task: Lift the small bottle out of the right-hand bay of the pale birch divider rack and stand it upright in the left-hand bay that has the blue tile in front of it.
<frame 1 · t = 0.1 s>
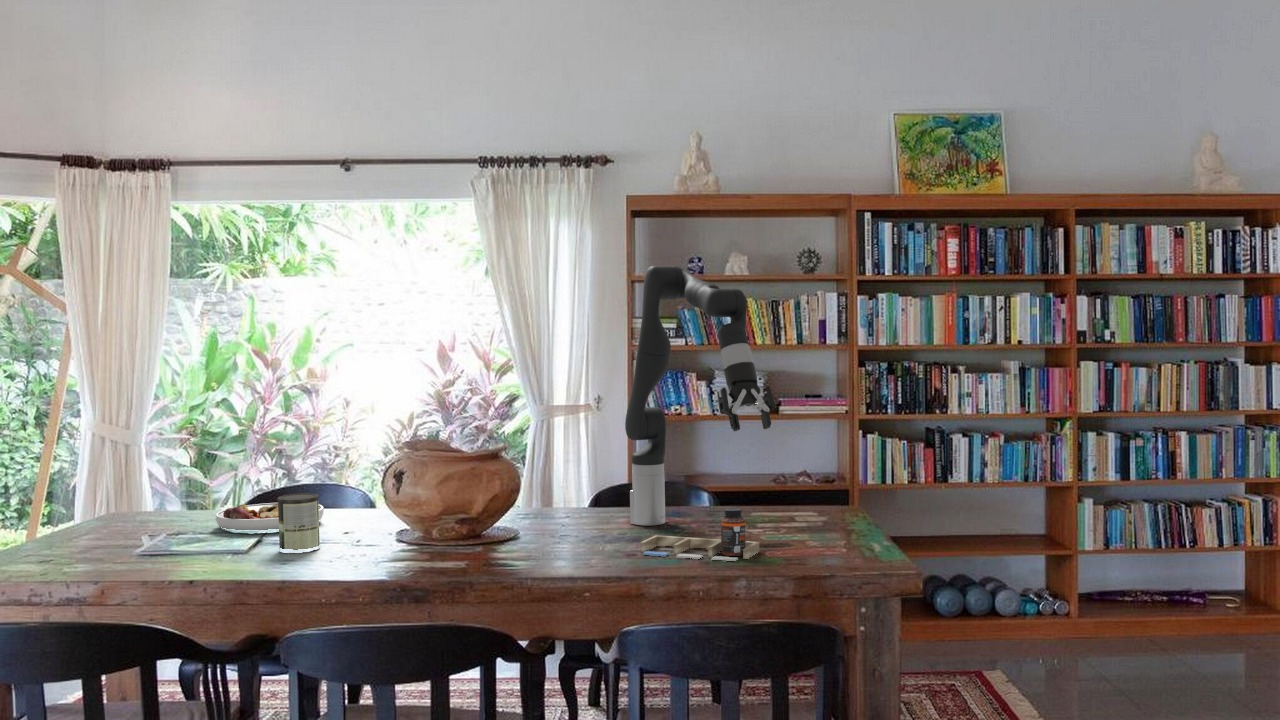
hand: (752, 429, 259), 31 cm above the table, tool tilted 20°, fingers open, 8 cm apart
bowl: (270, 527, 319), on the table
coffee can: (299, 550, 283), on the table
supplement bottle: (733, 555, 266), on the table
divider rack: (699, 552, 269), on the table
bezel tiles: (689, 557, 263), on the table
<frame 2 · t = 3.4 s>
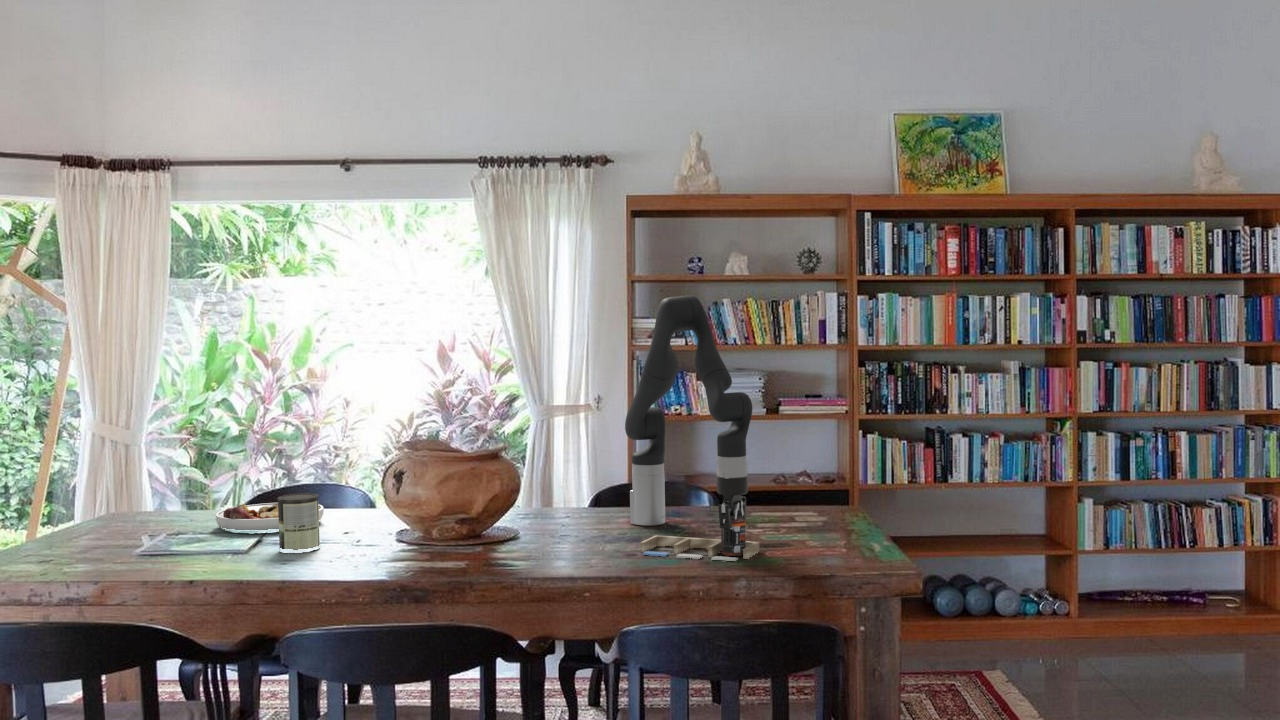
hand: (733, 542, 266), 3 cm above the table, tool pointing down, fingers closed on supplement bottle, 6 cm apart
supplement bottle: (733, 555, 266), on the table, touching gripper
everything else where it was.
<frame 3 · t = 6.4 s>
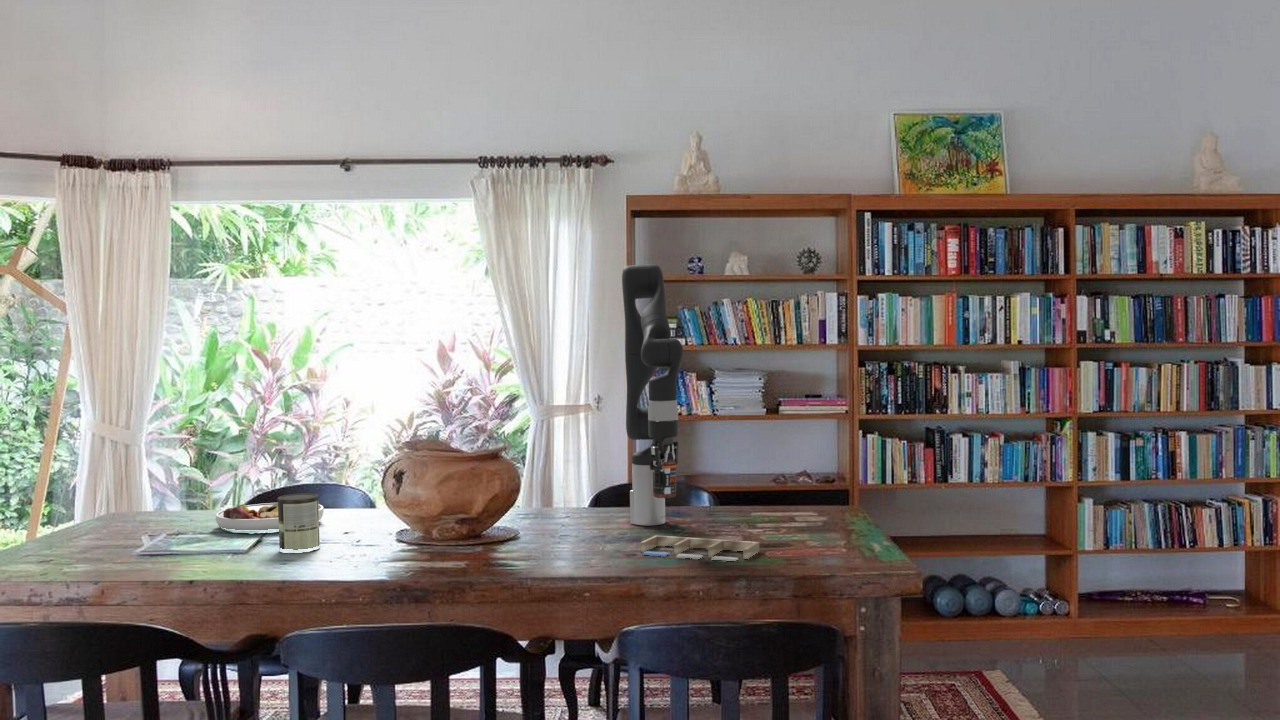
hand: (664, 484, 273), 17 cm above the table, tool pointing down, fingers closed on supplement bottle, 6 cm apart
supplement bottle: (664, 497, 273), point 13 cm above the table, touching gripper
everything else where it was.
when the fingers open (4 cm above the table, at t = 9.5 s): supplement bottle stays where it is, on the table.
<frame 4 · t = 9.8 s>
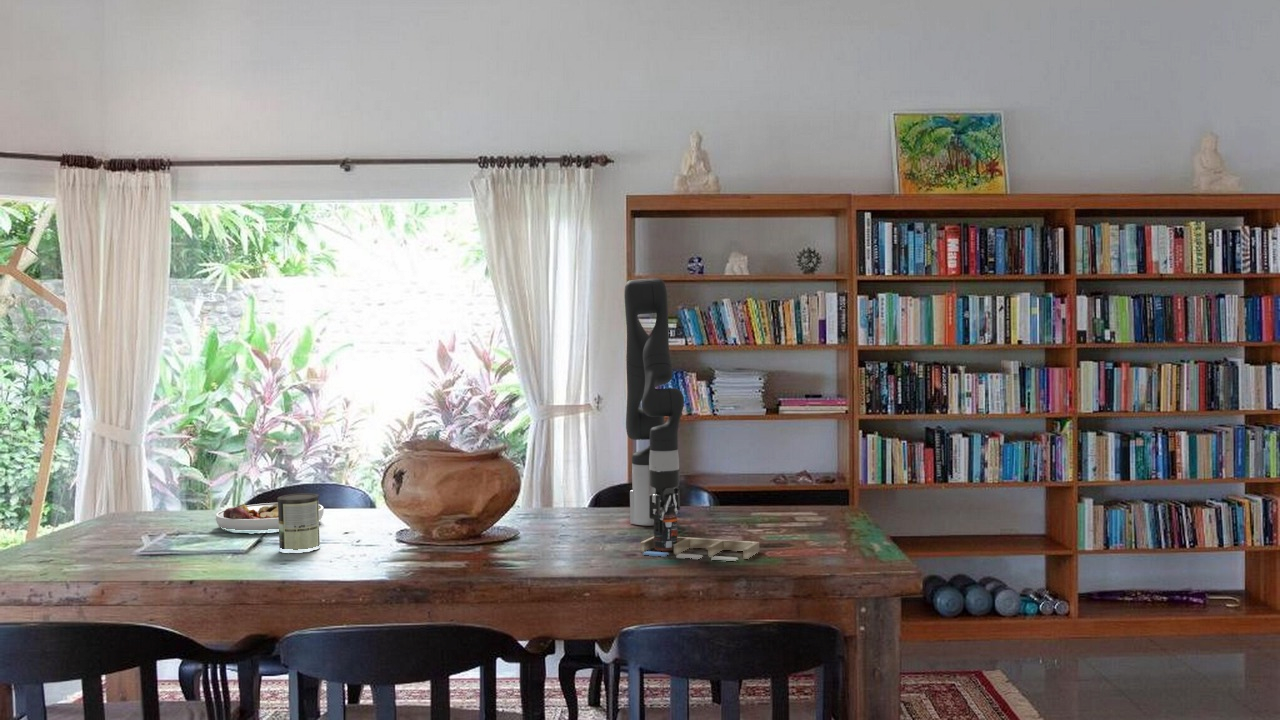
hand: (665, 531, 273), 5 cm above the table, tool pointing down, fingers open, 8 cm apart
supplement bottle: (666, 550, 273), on the table
everything else where it was.
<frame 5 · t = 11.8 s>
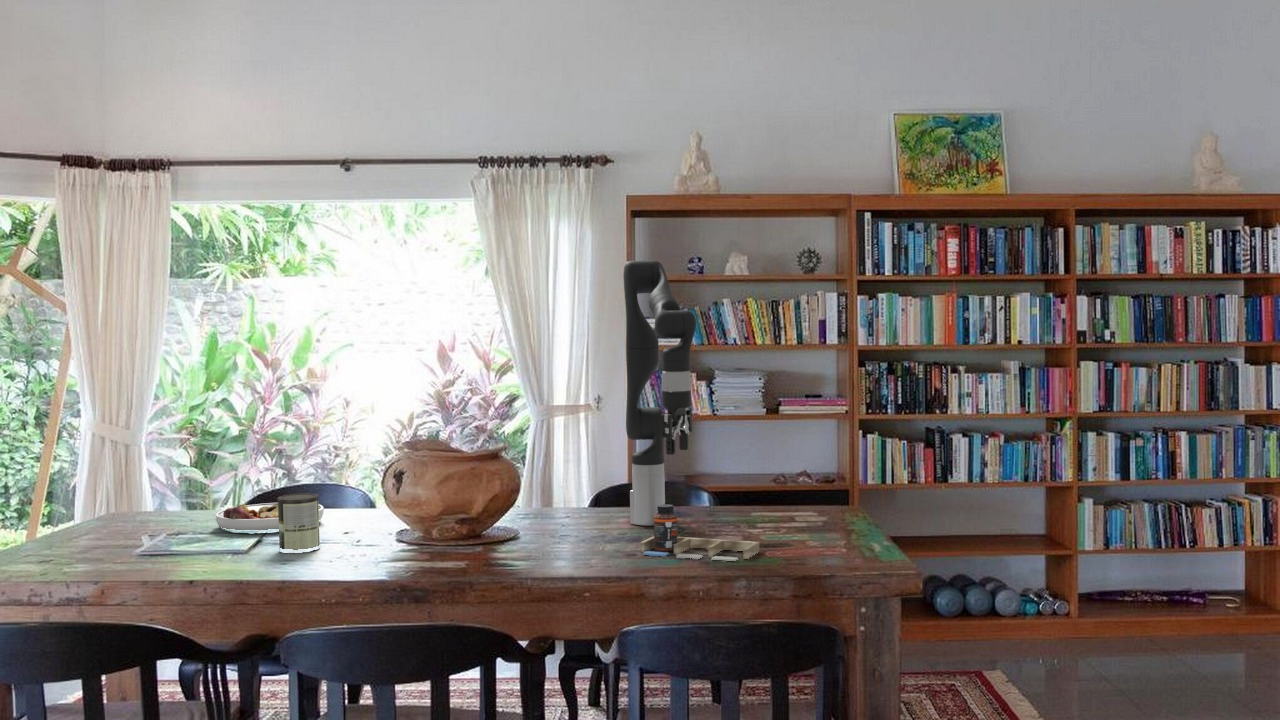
hand: (677, 452, 277), 24 cm above the table, tool pointing down, fingers open, 8 cm apart
nothing on the table moved.
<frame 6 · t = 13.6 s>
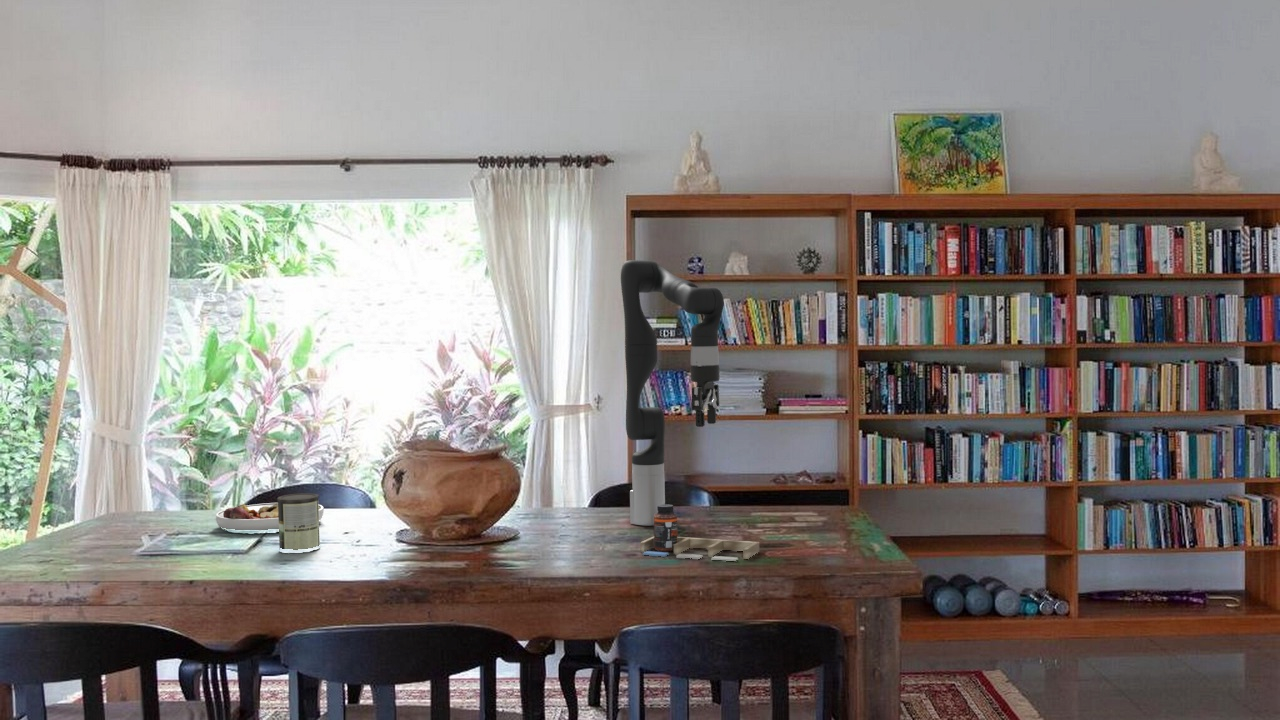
hand: (706, 425, 286), 30 cm above the table, tool pointing down, fingers open, 8 cm apart
nothing on the table moved.
at the end: supplement bottle inside the target area (0.2 cm from its centre), on the table; supplement bottle tilted 0°; the gripper is holding nothing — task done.
